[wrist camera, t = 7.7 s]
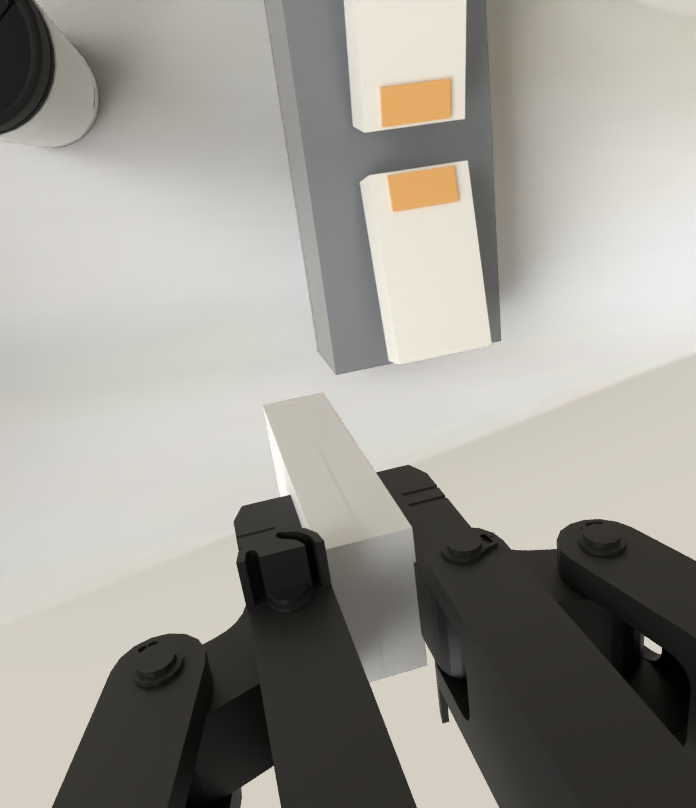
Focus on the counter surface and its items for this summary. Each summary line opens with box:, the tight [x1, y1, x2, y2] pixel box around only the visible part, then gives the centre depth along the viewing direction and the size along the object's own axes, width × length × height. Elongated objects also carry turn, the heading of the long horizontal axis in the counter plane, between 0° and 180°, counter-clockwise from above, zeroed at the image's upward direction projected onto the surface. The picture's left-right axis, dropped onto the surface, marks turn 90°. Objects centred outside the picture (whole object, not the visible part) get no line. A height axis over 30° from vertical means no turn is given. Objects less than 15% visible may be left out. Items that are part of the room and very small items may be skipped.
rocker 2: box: [360, 160, 492, 365], centre depth 40 cm, size 6×11×3 cm, turn 7°
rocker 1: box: [344, 0, 466, 133], centre depth 35 cm, size 6×11×3 cm, turn 7°
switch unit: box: [264, 0, 501, 375], centre depth 43 cm, size 13×27×7 cm, turn 7°
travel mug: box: [0, 0, 99, 148], centre depth 31 cm, size 6×7×20 cm
